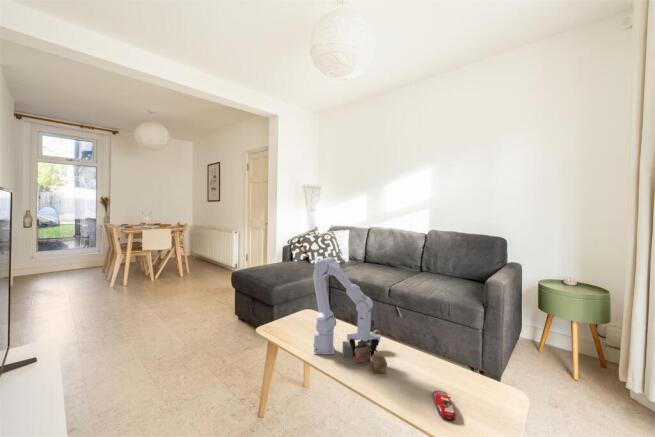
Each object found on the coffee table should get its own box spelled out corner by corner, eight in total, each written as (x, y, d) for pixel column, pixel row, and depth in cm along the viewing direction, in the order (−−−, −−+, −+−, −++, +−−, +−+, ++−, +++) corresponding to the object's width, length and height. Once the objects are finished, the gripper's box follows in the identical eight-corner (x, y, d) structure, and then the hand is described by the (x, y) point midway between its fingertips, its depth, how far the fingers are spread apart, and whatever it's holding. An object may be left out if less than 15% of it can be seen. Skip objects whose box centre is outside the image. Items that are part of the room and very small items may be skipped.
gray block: (343, 357, 131) (343, 346, 130) (342, 351, 136) (342, 341, 135) (354, 357, 131) (354, 346, 130) (352, 351, 136) (353, 341, 135)
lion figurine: (374, 344, 143) (375, 327, 142) (382, 349, 139) (383, 331, 138) (353, 354, 134) (353, 335, 133) (361, 359, 129) (362, 339, 129)
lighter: (357, 366, 124) (358, 343, 123) (352, 362, 127) (353, 340, 126) (372, 361, 127) (373, 340, 127) (367, 358, 130) (368, 336, 130)
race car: (431, 394, 107) (431, 384, 107) (446, 396, 107) (446, 385, 106) (439, 420, 94) (440, 409, 94) (457, 423, 93) (457, 411, 93)
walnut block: (374, 374, 118) (375, 362, 118) (372, 367, 123) (372, 356, 123) (386, 374, 118) (387, 362, 118) (383, 367, 123) (384, 356, 123)
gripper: (348, 329, 122) (347, 360, 122) (382, 329, 122) (381, 360, 123) (346, 322, 129) (345, 351, 129) (378, 322, 129) (377, 352, 130)
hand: (362, 355), depth 127 cm, fingers closed on lighter, 7 cm apart
